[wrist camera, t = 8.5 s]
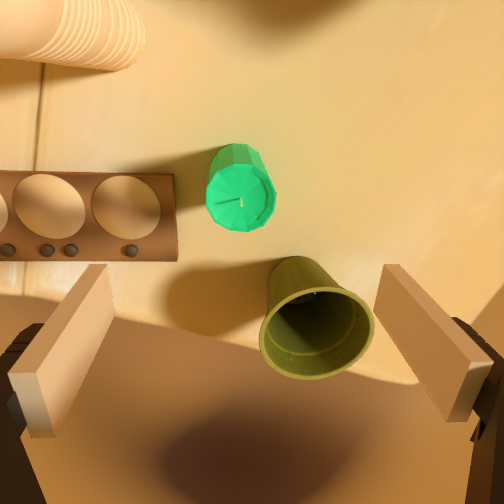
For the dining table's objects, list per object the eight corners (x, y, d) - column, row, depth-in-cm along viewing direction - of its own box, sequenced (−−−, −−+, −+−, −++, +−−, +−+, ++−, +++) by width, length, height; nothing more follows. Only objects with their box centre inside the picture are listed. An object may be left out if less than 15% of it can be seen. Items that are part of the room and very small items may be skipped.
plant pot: (273, 329, 48) (286, 395, 38) (235, 263, 43) (238, 318, 33) (353, 296, 47) (388, 355, 36) (323, 222, 41) (354, 268, 31)
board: (-82, 167, 36) (-99, 172, 34) (173, 173, 38) (170, 178, 36) (-48, 254, 40) (-62, 263, 38) (178, 255, 42) (176, 263, 40)
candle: (275, 173, 38) (294, 209, 28) (234, 207, 40) (237, 253, 29) (240, 130, 36) (246, 150, 25) (198, 168, 38) (187, 202, 27)
